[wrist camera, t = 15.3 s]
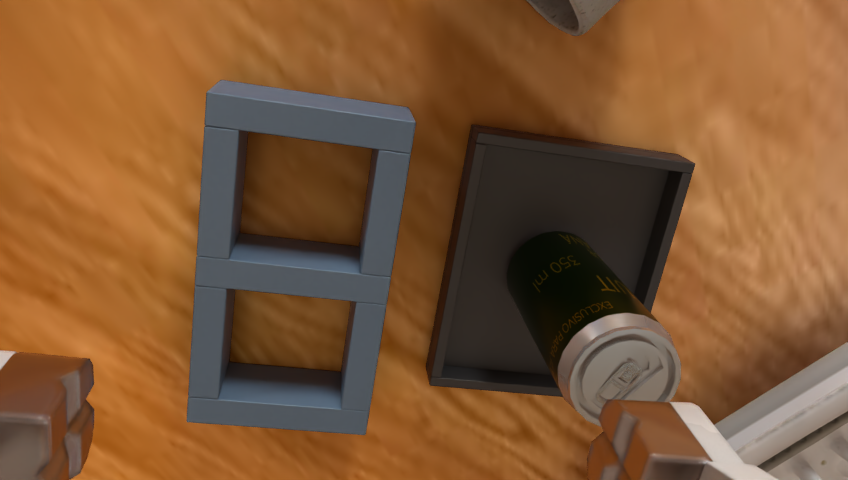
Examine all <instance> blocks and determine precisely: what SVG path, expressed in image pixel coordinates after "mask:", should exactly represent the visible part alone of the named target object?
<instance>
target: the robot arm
mask: <svg viewBox="0 0 848 480" xmlns="http://www.w3.org/2000/svg"><path fill="white" fill-rule="evenodd" d="M93 385H94V375H93V364H92V362H91V360H90V359H87V358H77V357H66V356H56V355H45V354H35V353H24V352H19V353H17V352H15V351H2V350H0V480H70V479H71V478H73V477H74V476H76V475H78V474H79V473H80V472H81V470H82V468H83V466H84V464H85V462H86V460H87V457H88V453H89V449H90V446H91V442H92V437H93V429H94V409H93V407H92V406H91V405H90V404H89V403H88V401H87V400H86V398H87V396H88V394H89V392H90V390H91V388H92V387H93ZM598 420H599V422H600V424H601V427H602V429H603V432H602V433H601V434H600V435H599V436H597V437H596V438H595V439H594V440H593V441H592V442H591V446H590V449H589V453H588V457H587V477H588V480H779V479H777V478H776V477H774V476H772V475H771V474H769V473H767V472H765V471H764V470H762V469H760V468H759V467H757V466H755V465H753V464H744V462H743V461H742V460H741V458H740V457H739V456H738V455H737V453H736V452H735V451H734V450H733V448H732V447H731V446H730V445H729V443H728V442H727V441H726V440H725V438H724V437H723V436H722V435H721V433H720V432H719V431H718V430H717V428H716V427H715V426H714V425H713V423H712V422H711V421H710V420H709V418H708V417H707V416H706V415H705V413H704V412H703V411H702V410H701V408H700V407H699V406H697V405H695V404H693V403H689V402H656V401H637V400H618V399H607V401H606V402H605V404H604V405H603V406H602V409H601V412H600V415H599V419H598Z"/></svg>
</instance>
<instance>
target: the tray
mask: <svg viewBox="0 0 848 480" xmlns="http://www.w3.org/2000/svg"><path fill="white" fill-rule="evenodd" d="M694 167H695V163H693V162H691V161H689V160H688V159H686V158H684V157H682V156H680V155H678V154H671V153H665V152H658V151H651V150H644V149H637V148H630V147H623V146H617V145H610V144H603V143H596V142H589V141H582V140H576V139H569V138H562V137H555V136H548V135H541V134H535V133H528V132H521V131H514V130H507V129H500V128H493V127H487V126H480V125H471V130H470V135H469V140H468V146H467V151H466V156H465V162H464V167H463V172H462V178H461V183H460V188H459V193H458V199H457V204H456V209H455V215H454V220H453V225H452V231H451V236H450V241H449V246H448V252H447V257H446V262H445V268H444V273H443V278H442V284H441V289H440V294H439V300H438V305H437V310H436V315H435V321H434V326H433V331H432V337H431V342H430V347H429V353H428V358H427V363H426V370H427V375H428V380H429V384H430V385H431V386H442V387H454V388H466V389H477V390H489V391H501V392H513V393H524V394H536V395H548V396H560V397H563V395H562V393H561V391H560V389H559V388H558V386H557V384H556V382H555V380H554V378H553V376H552V374H551V372H550V370H549V368H548V366H547V364H546V363H545V361H544V359H543V357H542V355H541V353H540V351H539V349H538V347H537V345H536V343H535V341H534V339H533V338H532V336H531V334H530V332H529V330H528V328H527V326H526V324H525V322H524V320H523V318H522V316H521V314H520V313H519V311H518V309H517V307H516V305H515V303H514V301H513V299H512V297H511V294H510V292H509V290H508V286H507V272H508V268H509V264H510V261H511V259H512V258H513V256H514V255H515V253H516V252H517V250H518V248H519V247H520V246H521V245H522V244H524V243H525V242H526V241H527V240H528V239H530V238H532V237H534V236H536V235H539V234H541V233H546V232H554V231H562V232H568V233H573V234H574V235H576V236H578V237H580V238H582V239H584V240H585V241H586V242H587V244H588V245H589V246H590V247H591V248H592V249H593V250H594V251H595V252H596V253H597V255H598V256H599V257H600V258H601V259H602V260H603V261H604V262H605V263H606V265H607V266H608V267H609V268H610V269H611V270H612V271H613V272H614V273H615V274H616V276H617V277H618V278H619V279H620V280H621V281H622V282H623V283H624V284H625V286H626V287H627V288H628V289H629V290H630V291H631V292H632V293H633V294H634V295H635V297H636V298H637V299H638V300H639V301H640V302H641V303H642V304H643V305H644V307H645V308H646V309H647V310H648V311H649V312H650V313H651V309H652V306H653V303H654V299H655V296H656V293H657V289H658V286H659V283H660V280H661V276H662V273H663V270H664V266H665V263H666V260H667V256H668V253H669V250H670V246H671V243H672V240H673V236H674V233H675V230H676V226H677V223H678V220H679V216H680V213H681V210H682V207H683V203H684V200H685V197H686V193H687V190H688V187H689V183H690V180H691V177H692V173H693V170H694Z"/></svg>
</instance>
